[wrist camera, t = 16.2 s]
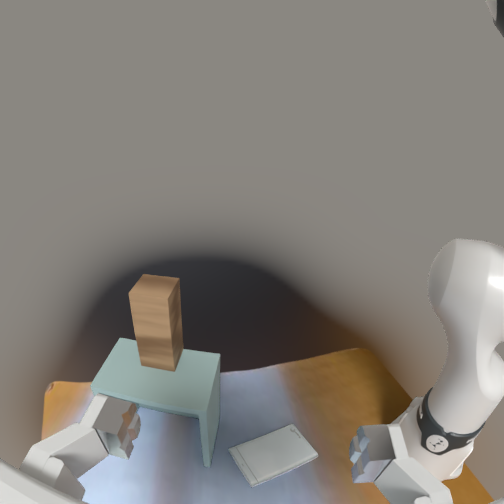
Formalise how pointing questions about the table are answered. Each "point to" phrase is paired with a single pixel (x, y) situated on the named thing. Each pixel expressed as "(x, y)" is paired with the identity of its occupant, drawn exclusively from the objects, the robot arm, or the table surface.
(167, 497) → the table surface
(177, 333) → the walnut block
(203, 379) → the tunnel
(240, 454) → the hard drive
